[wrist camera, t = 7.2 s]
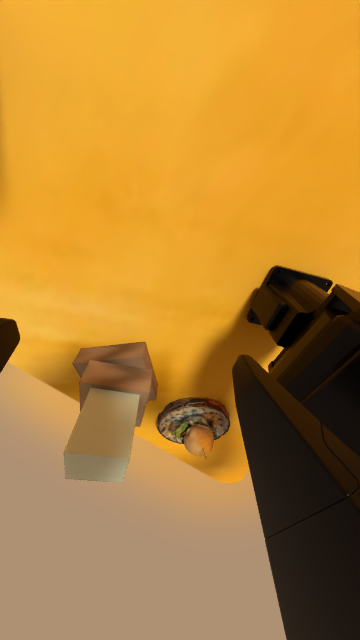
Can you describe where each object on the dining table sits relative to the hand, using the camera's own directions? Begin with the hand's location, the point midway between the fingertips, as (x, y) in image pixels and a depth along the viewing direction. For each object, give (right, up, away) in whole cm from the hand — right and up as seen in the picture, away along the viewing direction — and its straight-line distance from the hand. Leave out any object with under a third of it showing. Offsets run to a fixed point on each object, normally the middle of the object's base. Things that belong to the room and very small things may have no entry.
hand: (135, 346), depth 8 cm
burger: (+4, -15, +26) cm, 30 cm away
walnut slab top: (-6, -7, +17) cm, 19 cm away
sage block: (-5, -8, +14) cm, 17 cm away
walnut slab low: (-6, -5, +19) cm, 20 cm away
